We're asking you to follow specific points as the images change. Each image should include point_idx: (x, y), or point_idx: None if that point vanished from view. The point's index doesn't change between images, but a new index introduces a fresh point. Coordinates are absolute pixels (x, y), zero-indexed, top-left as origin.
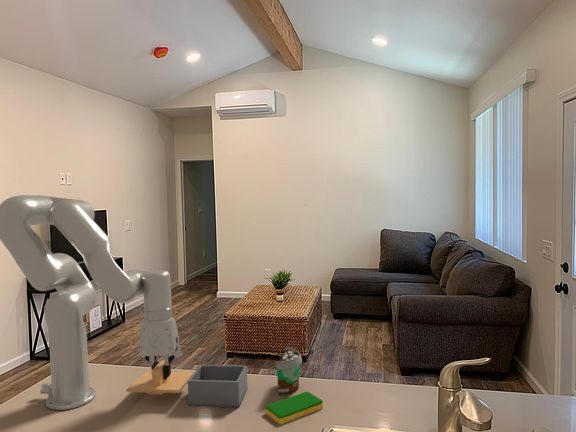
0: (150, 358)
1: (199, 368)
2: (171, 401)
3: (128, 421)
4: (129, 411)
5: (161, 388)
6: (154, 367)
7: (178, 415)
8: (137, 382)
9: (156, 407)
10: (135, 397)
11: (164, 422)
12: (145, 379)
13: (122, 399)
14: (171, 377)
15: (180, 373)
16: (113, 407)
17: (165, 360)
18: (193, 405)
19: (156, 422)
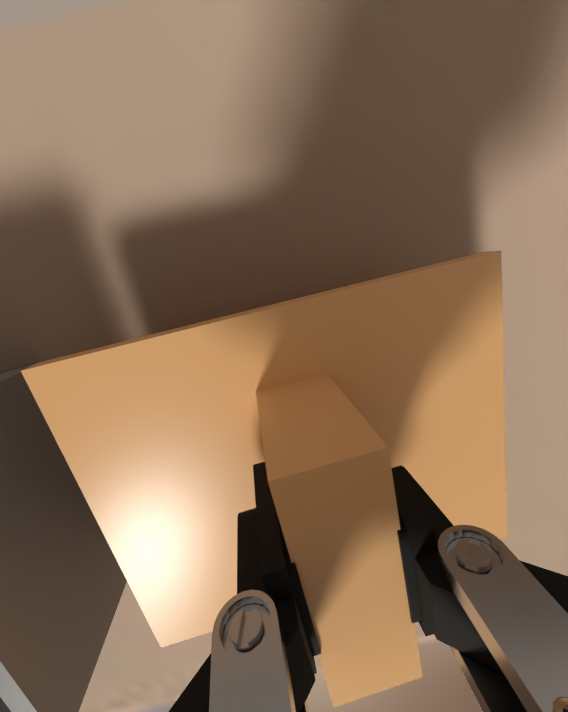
0: (557, 634)
1: (5, 701)
2: None
3: (287, 56)
4: (364, 187)
5: (209, 347)
6: (391, 510)
7: (12, 233)
8: (477, 381)
9: (232, 284)
10: None
11: (30, 113)
12: (444, 442)
13: None
14: None
15: None
16: (487, 204)
17: (262, 686)
18: (8, 371)
19: (86, 97)
